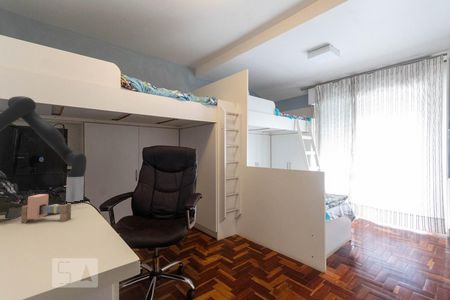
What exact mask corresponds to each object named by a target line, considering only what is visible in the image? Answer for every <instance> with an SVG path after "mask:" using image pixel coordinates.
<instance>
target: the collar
mask: <svg viewBox="0 0 450 300" xmlns="http://www.w3.org/2000/svg"><path fill="white" fill-rule="evenodd" d="M27 205H28V206H27V219H34V220H38V219H41V218H44V217H43V216H45V217H47V216H46V215H48V213H39V207H40V205H49V193H39V194H34V195H31V196H30V195H29V196H28V197H27Z"/></svg>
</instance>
